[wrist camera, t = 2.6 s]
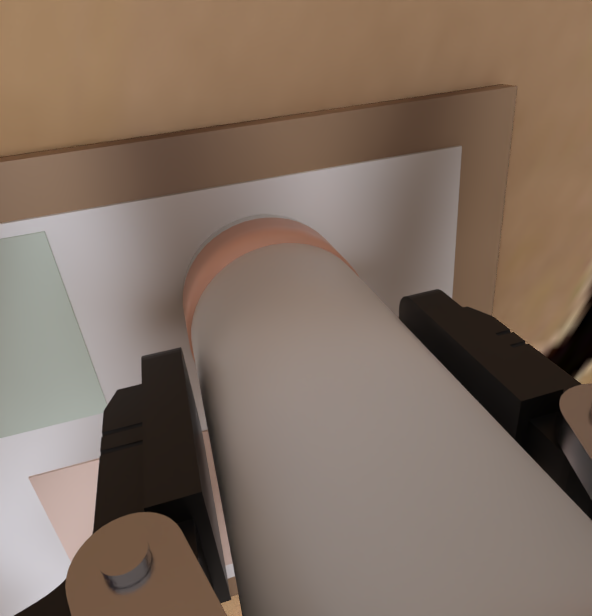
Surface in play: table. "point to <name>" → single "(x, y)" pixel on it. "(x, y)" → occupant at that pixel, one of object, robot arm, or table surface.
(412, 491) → the marker
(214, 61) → the table surface
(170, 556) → the robot arm
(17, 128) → the table surface
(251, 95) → the table surface
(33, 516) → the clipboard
